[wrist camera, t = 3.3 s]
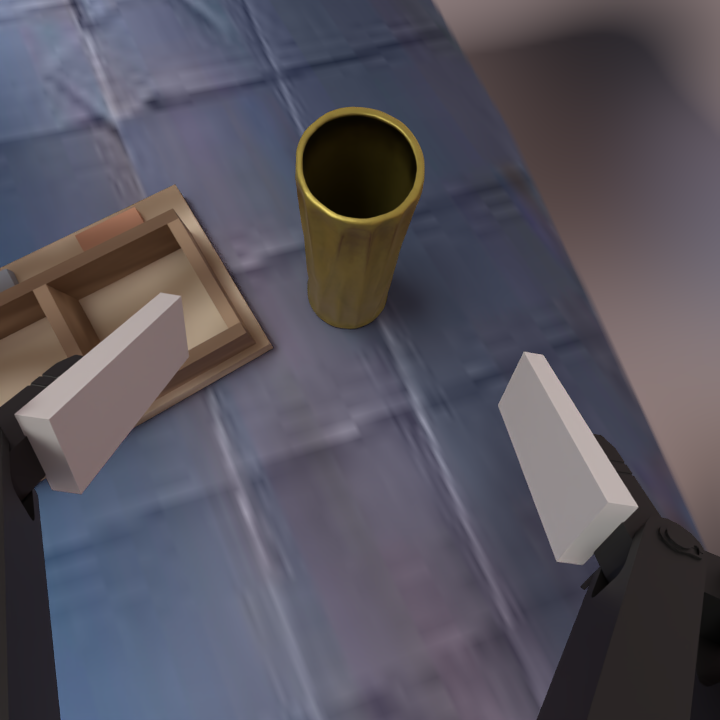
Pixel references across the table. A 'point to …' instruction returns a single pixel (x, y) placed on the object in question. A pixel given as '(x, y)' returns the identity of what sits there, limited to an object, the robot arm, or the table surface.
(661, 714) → the robot arm
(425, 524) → the table surface
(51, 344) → the tray
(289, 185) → the table surface
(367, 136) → the vase
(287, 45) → the table surface
